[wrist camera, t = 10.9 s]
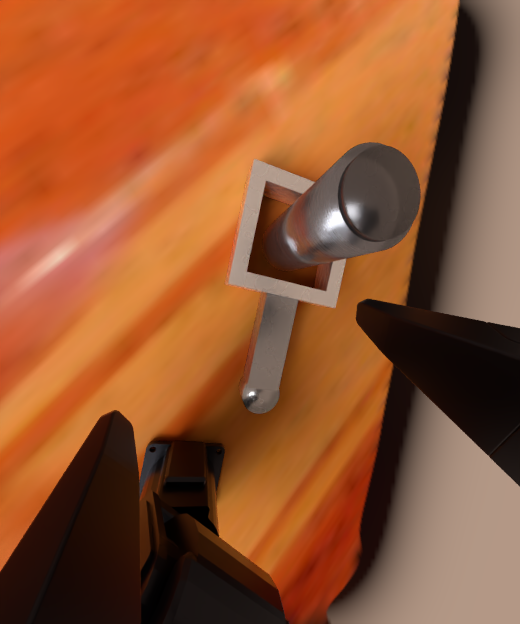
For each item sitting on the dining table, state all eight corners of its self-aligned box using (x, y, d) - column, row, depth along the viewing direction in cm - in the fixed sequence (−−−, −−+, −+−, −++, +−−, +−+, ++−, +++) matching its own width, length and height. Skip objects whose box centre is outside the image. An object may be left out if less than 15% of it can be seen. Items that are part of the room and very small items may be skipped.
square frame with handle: (298, 406, 22) (309, 420, 20) (201, 397, 20) (201, 412, 18) (342, 209, 22) (359, 199, 19) (247, 175, 19) (254, 158, 17)
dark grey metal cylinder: (303, 276, 21) (413, 261, 10) (256, 264, 20) (324, 232, 9) (314, 227, 21) (437, 159, 10) (267, 212, 20) (350, 115, 9)
